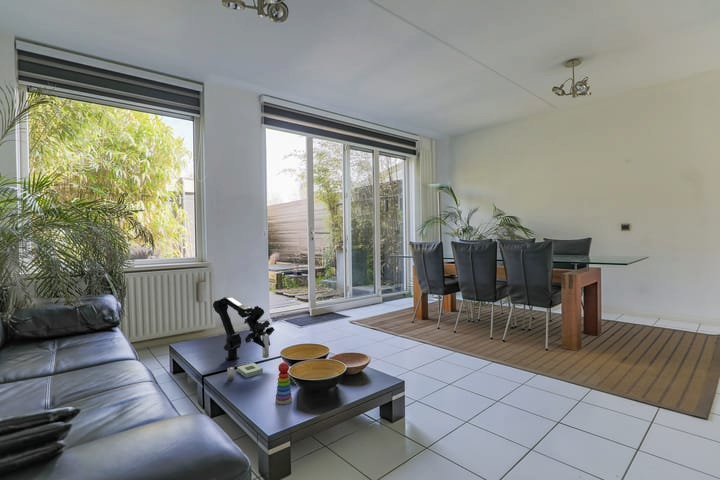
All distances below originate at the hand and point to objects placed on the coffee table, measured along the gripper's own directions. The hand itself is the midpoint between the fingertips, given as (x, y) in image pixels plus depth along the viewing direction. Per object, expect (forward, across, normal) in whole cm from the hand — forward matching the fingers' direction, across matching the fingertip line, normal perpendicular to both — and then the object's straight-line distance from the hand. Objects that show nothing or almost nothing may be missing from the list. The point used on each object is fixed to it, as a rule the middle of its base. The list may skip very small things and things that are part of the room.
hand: (267, 346), depth 215 cm
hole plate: (+6, -9, +13) cm, 17 cm away
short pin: (+5, -21, +14) cm, 26 cm away
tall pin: (+4, 0, +6) cm, 7 cm away
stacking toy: (+35, -24, -16) cm, 46 cm away
